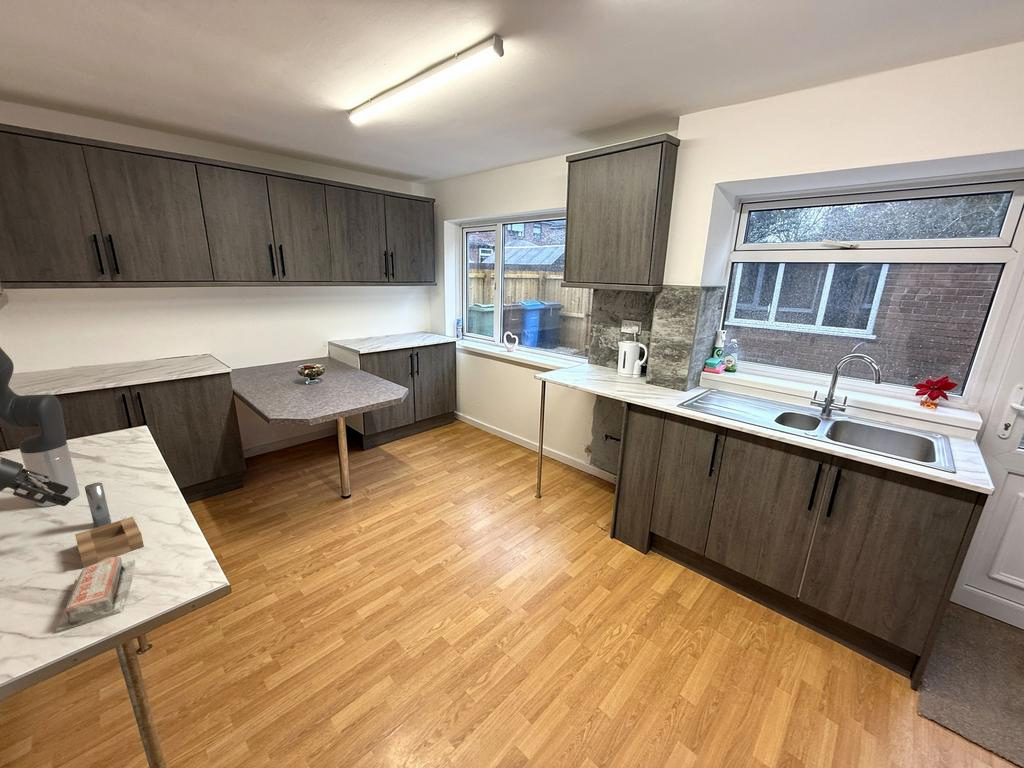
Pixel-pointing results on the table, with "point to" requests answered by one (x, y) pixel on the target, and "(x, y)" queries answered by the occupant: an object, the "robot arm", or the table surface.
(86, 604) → the packaged product
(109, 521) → the steel rod
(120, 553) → the wooden frame
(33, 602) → the table surface
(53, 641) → the table surface
